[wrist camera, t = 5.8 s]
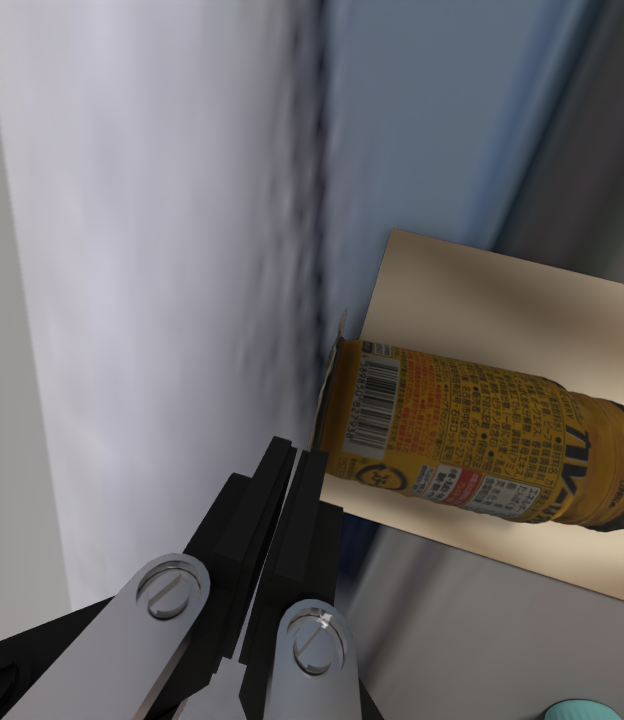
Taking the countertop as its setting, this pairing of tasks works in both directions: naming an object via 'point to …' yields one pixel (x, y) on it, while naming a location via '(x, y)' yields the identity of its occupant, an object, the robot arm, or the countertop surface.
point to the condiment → (470, 436)
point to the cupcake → (580, 711)
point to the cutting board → (507, 351)
